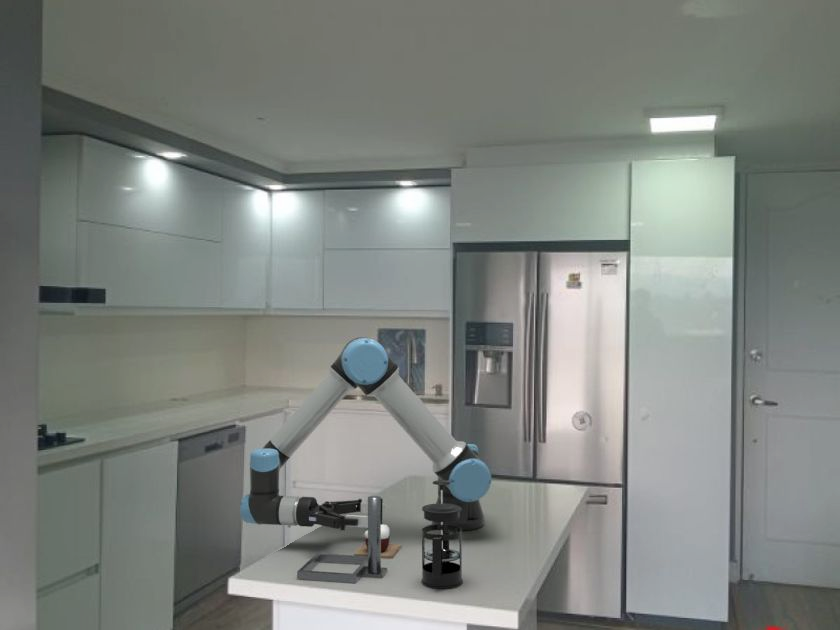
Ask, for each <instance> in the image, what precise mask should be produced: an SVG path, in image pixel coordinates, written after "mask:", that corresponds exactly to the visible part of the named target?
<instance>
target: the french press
mask: <svg viewBox="0 0 840 630" xmlns="http://www.w3.org/2000/svg"><path fill="white" fill-rule="evenodd" d="M432 484H433V485H436V486H438V485H440V490H441V503H437V504H436V503H430V504H425V505H424V506H422V507H421V510H422V512H423V518H424V519H425V520H426V521H430V522H432V521H434V522H441V524H435V525H432V524H431V525H429V524H428V525H426V526H424V527H423V528H421V552H422V553H421V557H422V558H421V561H422V562H421V570H422V571H421V572H422V577H421V582H420V583H421V584H422V586H424V587H426V588H430V589H435V590H449V589H455V588H458V587H460V586H462V584H463V582H464V580H463V578H462V576H463V573H462V572H463V569H462V565H463V564H462V563H463V562H462V559H463V557H462V555H463V552H462V551H463V549H462V548H463V547H462V546H463V545H462V543H463V542H462V538H463V536H462V535H463V534H462V531H463V530H462V529H461V528H460V527H458V526H454V525H448V524H443V522H450V521H455V520H458V519H459V518H460V511H461V507H460V506H458V505H454V504H446V503H443V497H442V490H444V485H448V484H451V482H450V481H446V480H438V479H436V480H434V481H432ZM431 531H432V532H434V531H440V534H434V533H429V532H431ZM450 532H455V533H451V534H450ZM425 539H427V540H430V541H432V547H431V548H432V549H429V550H426V551H425V549H426V548H425V541H426V540H425ZM458 539H459V551H457V550H455V549H452V548H451V549H450V541H454V540H458ZM425 559H426V560H427V561H431V562H428V563H426V562H425V561H426V560H425ZM457 560H459V563H456V562H454V561H457Z"/></svg>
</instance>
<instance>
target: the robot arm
mask: <svg viewBox="0 0 840 630" xmlns="http://www.w3.org/2000/svg"><path fill="white" fill-rule="evenodd" d="M399 372H400V367H399V366H398V364H397V363H396V362H395V361H394V360H393V358H392V357H390V355H389V354H388V353H387V352H386V349H385V347H383V345H382V344H380V342H378V341H377V340H374V339H372V338H368V337H363V336H362V337H357V338H353V339H351V340H350V341H349V342H347V343H346V345H344V346H343V349H342V351H341V352H340V354H339V355H338V356H337V358H336V359H335V360H334V362H333V363H332V364H331V365H330V366H329V373H328V374H327V375H326V377H324V378H323V379H322V380H321V381H320V383H319V384H318V385H317V387H315V388H314V389H313V391H312V392H311V393H310V394H309V396H307V398H306V399H305V400H304V401H303V402H302V403H301V404H300V405H299V406H298V408H297V409H296V410H295V411H294V412H293V413H292V414H291V416H290V417H288V419H287V420H286V421H285V422H284V424H282V426H280V428H278V430H277V431H276V432H275V434H274V435H272V437H271V438H270V440H269V441H267V442H266V443H265V445H264V446H263V447H262V448H259V449H258V448H256V449H253V450H252V451H251V452H250V454H249V455H250V458H249V477H250V479H249V480H250V481H249V483H250V484H249V485H250V488H249V489H250V490H249V491H250V492H249V493H247V494H246V495H244V496H243V497H242V499H241V503H240V507H239V508H240V509H239V513H240V518H241V519H242V521H243V522H245V523H247V524H248V523H249V524H255V525H260V526H261V525H272V526H273V525H276V526H277V525H278V526H286V527H287V528H291V527H293V526H294V527H297V526H299V527H308V528H310V527H311V528H312V527H314V526H315V525H319V526H323V527H327V528H331V529H336V530H340V531H345V530H346V528H367V529H368V515H357V514H356V515H355V514H354V515H353V513H360V514H368V501H367V502H365V501H364V502H363V498H358V499H354V500H352V499H351V500H337V501H327V500H326V501H324V503H322V504H318V501H317V499H316V497H314V496H298V495H297V496H296V495H280V470H281V468H282V467H283V466H284V465H285V464H286V463H287V462H288V461H289V460H290V458H291V457H292V456H293V455H294V453H295V452H296V451H297V450H298V449H299V448H300V447H301V446H302V444H303V443H304V442H305V441H306V440H308V438H309V437H310V435H311V434H312V433H314V431H315V430H316V429H317V427H319V425H320V424H321V423H322V422H323V421H324V420H325V419H326V418H327V416H329V414H330V413H331V412H332V411H333V410H334V409H335V408H336V406H337V405H338V404H339V403H340V402H341V401H342V400H343V398H345V397H346V395H348V393H349V392H350V391H355V390H357V388H359V390H360V391H361V392H362V393H363V394H364V395H365V396H366V397H373V398H375V399H376V400H377V401H378V403H380V404H381V405H382V406H383V408H384V409H385V410H386V411H387V413H389V415H390V416H391V417H392V418H393V419H394V420H395V422H396V423H397V424H398V425H399V426H400V427H401V428H402V429H403V431H404V432H406V433H407V435H408V436H409V437H410V438H411V440H413V442H414V443H415V444H416V445H417V446H418V447H419V448H420V450H421V451H422V452H423V453H424V454H425V455H426V457H427V458H428V459H429V460H430V461H431V462H432V472H433V473H434V474H435V475H436V476H437V480H446V481H450V482H451V484H448V485H444V490H442V497H443V503H446V504H454V505H458V506H460V507H461V511H460V518H459V519H458V520H455V521H450V522H443V524H448V525H454V526H458V527H460V528H461V529H462V531H470V530H476V529H479V528H482V527H483V526H484V525H485V515H484V511H483V508H482V504H481V503H480V500H481V499H482V498H483V497H485V495H487V493H488V491H489V490H490V487H491V484H492V474H491V471H490V469H489V467H488V465H487V464H486V462H484V461H482V460H481V458H479V454H480V453H479V448H478V446H477V445H476V444H472V443H468V444H467V443H466V442H465V441H460V440H456V439H455V438H454V437H453V435H452V434H451V433H450V432H449V431H448V430H447V429H446V428H445V426H444V425H443V424H442V423H441V422H440V420H439V419H438V418H437V417H436V416H435V415H434V414H433V413H432V412H431V410H430V409H429V408H428V407H427V406H426V405H425V404H424V402H423V401H422V400H421V399H420V398H419V397H418V396H417V394H416V393H415V392H414V391H413V390H412V389H411V388H410V386H408V384H407V383H406V382H405V380H403V378H401V376H400V373H399ZM435 502H436V503H435V504H437V503H441V490H440V485H437V499H436V501H435ZM344 515H345V516H344ZM382 515H386V503H384V502H383V505H382ZM435 524H441V522H434V521H431V525H435Z"/></svg>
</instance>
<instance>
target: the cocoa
mask: <svg viewBox="0 0 840 630" xmlns="http://www.w3.org/2000/svg"><path fill="white" fill-rule="evenodd" d="M383 500H384V499H383V498H382V497H381V552H383V551H385V550H386V549H387V547H388V545H389V544H390V533H391V531H390V526H388V524H383V514H382V505H383V503H384V501H383ZM364 540H365V542H364V543H366V546H367V548H368V529H367V530H366V531H365V532H364Z"/></svg>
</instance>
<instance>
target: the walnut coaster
mask: <svg viewBox="0 0 840 630" xmlns="http://www.w3.org/2000/svg"><path fill="white" fill-rule="evenodd" d="M402 547H403V544H395V543H389V545H388V547H387V549H386V550H385V551H383V552H381V559H390V558H393V557H395V556H396V555H397V554H398V552H399V551H400V550H401V549H400V548H402ZM399 549H400V550H399ZM353 555H354V556H368V548H367V546H366V542H364V543H363V544H362V545H360V547H359V548H358V549H357V550H356V551H355V552H354V554H353ZM393 559H394V558H393Z"/></svg>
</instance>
